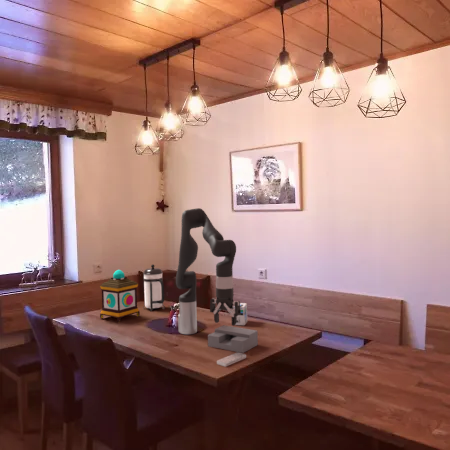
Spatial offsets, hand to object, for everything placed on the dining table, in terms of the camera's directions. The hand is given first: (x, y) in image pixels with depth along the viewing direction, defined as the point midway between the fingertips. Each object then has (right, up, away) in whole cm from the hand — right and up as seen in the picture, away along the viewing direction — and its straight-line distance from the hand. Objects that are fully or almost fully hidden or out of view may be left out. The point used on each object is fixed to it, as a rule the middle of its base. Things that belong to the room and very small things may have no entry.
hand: (225, 323), depth 190 cm
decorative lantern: (-65, -15, +85) cm, 108 cm away
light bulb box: (+9, -15, +67) cm, 69 cm away
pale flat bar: (+3, -18, +5) cm, 19 cm away
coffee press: (-47, -14, +106) cm, 116 cm away
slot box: (+4, -17, +26) cm, 31 cm away
